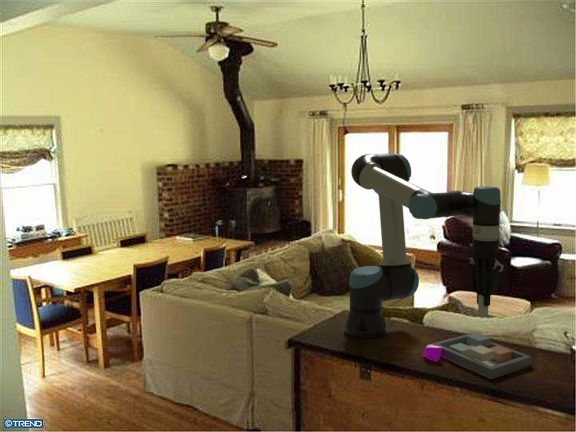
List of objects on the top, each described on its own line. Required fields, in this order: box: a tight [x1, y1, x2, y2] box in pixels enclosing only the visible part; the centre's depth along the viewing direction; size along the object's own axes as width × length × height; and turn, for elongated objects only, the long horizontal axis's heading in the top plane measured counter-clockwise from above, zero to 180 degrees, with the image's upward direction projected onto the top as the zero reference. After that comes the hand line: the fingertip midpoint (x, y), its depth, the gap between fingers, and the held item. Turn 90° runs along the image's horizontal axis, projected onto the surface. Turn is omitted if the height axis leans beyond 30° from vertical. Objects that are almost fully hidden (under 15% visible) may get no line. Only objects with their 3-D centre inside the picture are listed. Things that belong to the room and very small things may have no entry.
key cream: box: [469, 345, 494, 362], centre depth 166 cm, size 5×5×2 cm
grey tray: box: [430, 333, 533, 380], centre depth 172 cm, size 24×18×3 cm
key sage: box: [449, 343, 472, 357], centre depth 173 cm, size 5×5×2 cm
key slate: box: [467, 332, 492, 347], centre depth 177 cm, size 5×5×2 cm
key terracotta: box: [489, 346, 512, 362], centre depth 170 cm, size 5×5×2 cm
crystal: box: [422, 344, 442, 362], centre depth 172 cm, size 5×5×5 cm
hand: (483, 315), depth 164 cm, fingers closed
